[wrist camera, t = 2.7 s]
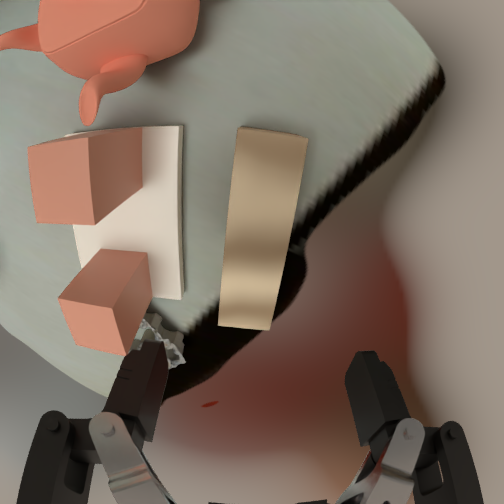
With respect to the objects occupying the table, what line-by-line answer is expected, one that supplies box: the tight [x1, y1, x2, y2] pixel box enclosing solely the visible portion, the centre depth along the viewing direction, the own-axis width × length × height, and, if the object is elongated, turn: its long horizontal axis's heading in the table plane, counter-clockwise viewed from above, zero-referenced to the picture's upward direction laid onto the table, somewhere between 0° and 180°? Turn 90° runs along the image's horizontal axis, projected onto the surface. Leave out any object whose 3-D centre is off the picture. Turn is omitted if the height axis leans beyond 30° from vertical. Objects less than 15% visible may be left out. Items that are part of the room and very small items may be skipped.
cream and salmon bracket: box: [28, 126, 184, 356], centre depth 19 cm, size 16×11×10 cm
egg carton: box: [128, 313, 186, 369], centre depth 28 cm, size 11×8×4 cm
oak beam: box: [218, 127, 308, 330], centre depth 22 cm, size 16×4×5 cm, turn 173°
